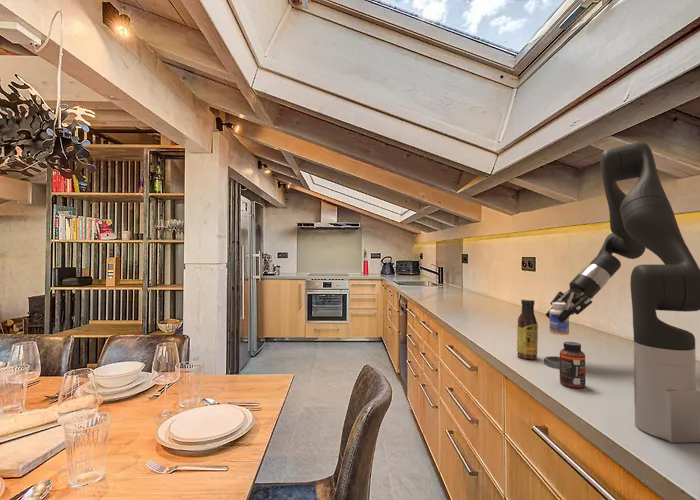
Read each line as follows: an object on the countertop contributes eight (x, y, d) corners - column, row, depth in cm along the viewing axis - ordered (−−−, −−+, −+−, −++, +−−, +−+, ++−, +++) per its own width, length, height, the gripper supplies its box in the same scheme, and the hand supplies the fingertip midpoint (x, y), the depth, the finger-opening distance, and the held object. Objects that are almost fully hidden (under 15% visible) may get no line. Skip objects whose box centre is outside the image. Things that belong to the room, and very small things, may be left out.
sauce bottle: (528, 361, 116) (528, 301, 116) (513, 356, 122) (512, 299, 122) (542, 358, 119) (541, 300, 119) (526, 354, 124) (525, 298, 125)
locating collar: (579, 369, 108) (579, 363, 108) (554, 369, 108) (554, 363, 108) (563, 361, 116) (563, 356, 116) (539, 361, 116) (539, 356, 116)
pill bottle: (546, 331, 115) (545, 302, 115) (561, 331, 115) (561, 301, 115) (557, 335, 109) (556, 304, 109) (573, 335, 110) (572, 304, 110)
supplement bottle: (584, 390, 91) (584, 347, 91) (558, 385, 94) (557, 343, 94) (586, 384, 95) (585, 342, 96) (561, 379, 99) (560, 339, 99)
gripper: (567, 272, 120) (532, 307, 119) (597, 274, 105) (559, 314, 105) (582, 287, 120) (548, 322, 119) (615, 291, 105) (576, 332, 105)
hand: (553, 318), depth 112 cm, fingers closed on pill bottle, 5 cm apart
